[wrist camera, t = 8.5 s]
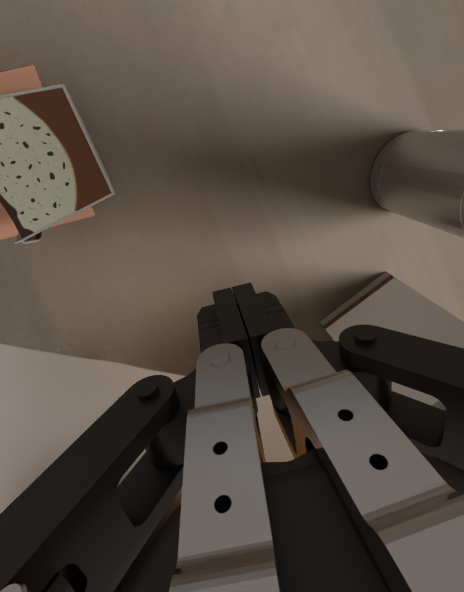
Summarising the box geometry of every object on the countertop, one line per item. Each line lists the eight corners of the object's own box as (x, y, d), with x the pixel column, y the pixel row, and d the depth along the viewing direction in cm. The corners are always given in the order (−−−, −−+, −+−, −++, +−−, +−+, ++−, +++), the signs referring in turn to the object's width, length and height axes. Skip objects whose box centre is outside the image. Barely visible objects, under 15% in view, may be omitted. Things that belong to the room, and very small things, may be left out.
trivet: (33, 65, 30) (32, 64, 30) (95, 215, 37) (95, 216, 36) (-83, 91, 30) (-85, 91, 29) (0, 239, 36) (-1, 239, 36)
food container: (66, 83, 32) (-40, 116, 31) (53, 62, 27) (-76, 101, 25) (122, 205, 37) (34, 239, 36) (122, 209, 32) (17, 249, 30)
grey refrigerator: (353, 363, 52) (616, 696, 21) (319, 321, 48) (590, 670, 17) (415, 318, 50) (802, 615, 20) (385, 271, 46) (829, 560, 15)
